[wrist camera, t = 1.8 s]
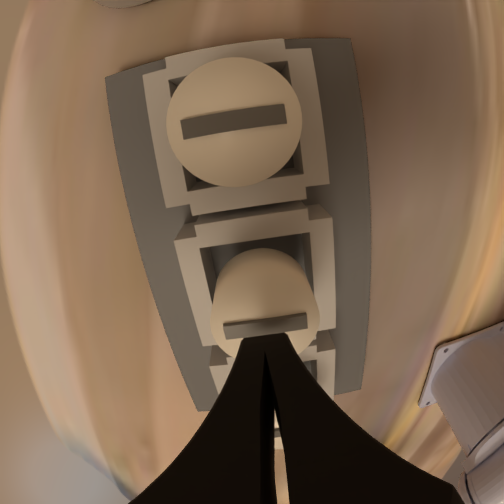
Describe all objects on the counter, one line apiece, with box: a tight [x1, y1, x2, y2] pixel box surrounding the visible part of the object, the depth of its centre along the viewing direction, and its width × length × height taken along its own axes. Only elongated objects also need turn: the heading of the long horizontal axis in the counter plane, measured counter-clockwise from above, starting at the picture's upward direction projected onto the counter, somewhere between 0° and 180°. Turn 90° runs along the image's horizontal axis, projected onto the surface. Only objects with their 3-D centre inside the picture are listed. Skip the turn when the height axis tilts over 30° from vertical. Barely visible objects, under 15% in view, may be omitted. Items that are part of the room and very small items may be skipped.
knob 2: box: [210, 248, 320, 358], centre depth 12 cm, size 4×4×3 cm
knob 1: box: [166, 57, 302, 187], centre depth 9 cm, size 4×4×3 cm
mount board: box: [105, 38, 371, 411], centre depth 15 cm, size 12×22×4 cm, turn 8°
